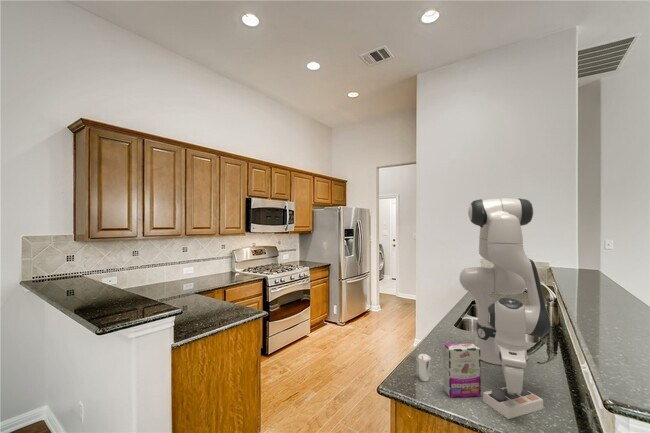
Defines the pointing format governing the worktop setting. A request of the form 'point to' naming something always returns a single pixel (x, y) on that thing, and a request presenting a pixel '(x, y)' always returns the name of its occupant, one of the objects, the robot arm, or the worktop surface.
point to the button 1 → (498, 394)
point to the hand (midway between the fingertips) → (510, 392)
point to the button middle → (510, 394)
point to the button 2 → (524, 392)
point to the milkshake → (424, 367)
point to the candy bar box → (462, 370)
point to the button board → (514, 404)
